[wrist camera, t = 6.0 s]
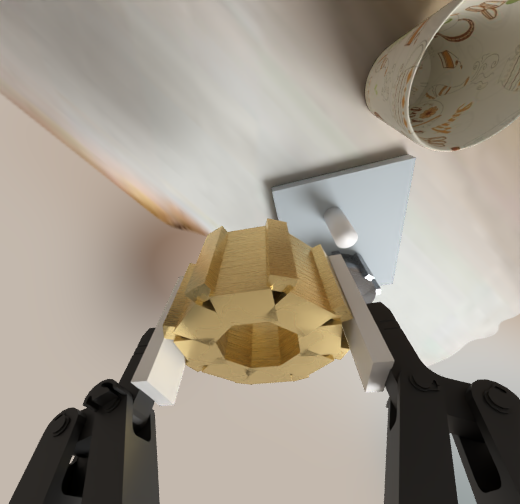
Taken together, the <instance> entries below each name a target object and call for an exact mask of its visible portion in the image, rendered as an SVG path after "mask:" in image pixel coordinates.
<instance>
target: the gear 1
mask: <svg viewBox="0 0 520 504" xmlns="http://www.w3.org/2000/svg"><path fill="white" fill-rule="evenodd" d="M350 319H353V316H352V314H351V311H350V309H349V306H348V304H347V302H346V299H345V297H344V295H343V292H342V290H341V287H340V285H339V283H338V280H337V278H336V275H335V273H334V271H333V268H332V266H331V264H330V261H329V259H328V256H327V255H326V253H325V251H324V250H323V248H322V246H321V244H319V245H317V246H315V247H313V248H312V247H310V246H309V245H307V244H306V243H304V242H302V241H301V240H299V239H298V238H296V237H294V236H293V235H291V234H290V233H289V232H288V227H287V222H283V221H278V220H273V219H267V222H266V226H262V227H256V228H250V229H243V230H237V231H231V232H227V231H226V230H225V229H224V227H223V226H221V227H220V228H218V229H217V230H215V231H213V232H212V233H210V234H208V235H207V238H206V240H205V243H204V245H203V248H202V250H201V253H200V255H199V258H198V260H197V263H196V264H191V263H190V264H189V266H188V269H187V271H186V273H185V276H184V278H183V280H182V282H181V285H180V287H179V289H178V291H177V294H176V296H175V298H174V301H173V303H172V305H171V307H170V310H169V312H168V314H167V317H166V319H165V321H164V323H163V334H164V338H165V339H172V340H174V341H173V342H174V343H175V345H176V346H177V347H178V348H179V350H180V351H181V352H182V354H183V355H184V356H185V358H186V359H187V360H186V363H185V364H186V365H187V366H189V367H190V368H192V369H194V370H196V371H197V372H199V371H202V372H204V373H207V374H211V375H214V376H217V377H221V378H224V379H227V380H231V381H234V382H235V383H241V384H251V385H252V384H260V383H274V382H287V381H297V380H301V379H304V378H308V377H309V374H311V373H313V372H315V371H317V370H318V369H320V368H322V367H324V366H325V365H327V364H329V363H331V362H333V361H334V359H342V358H343V357H344V355H345V354H346V353H347V352H348V351H349V350H350V348H349V345H348V342H347V339H346V337H345V334H344V331H343V328H342V322H344V321H347V320H350Z"/></svg>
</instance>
